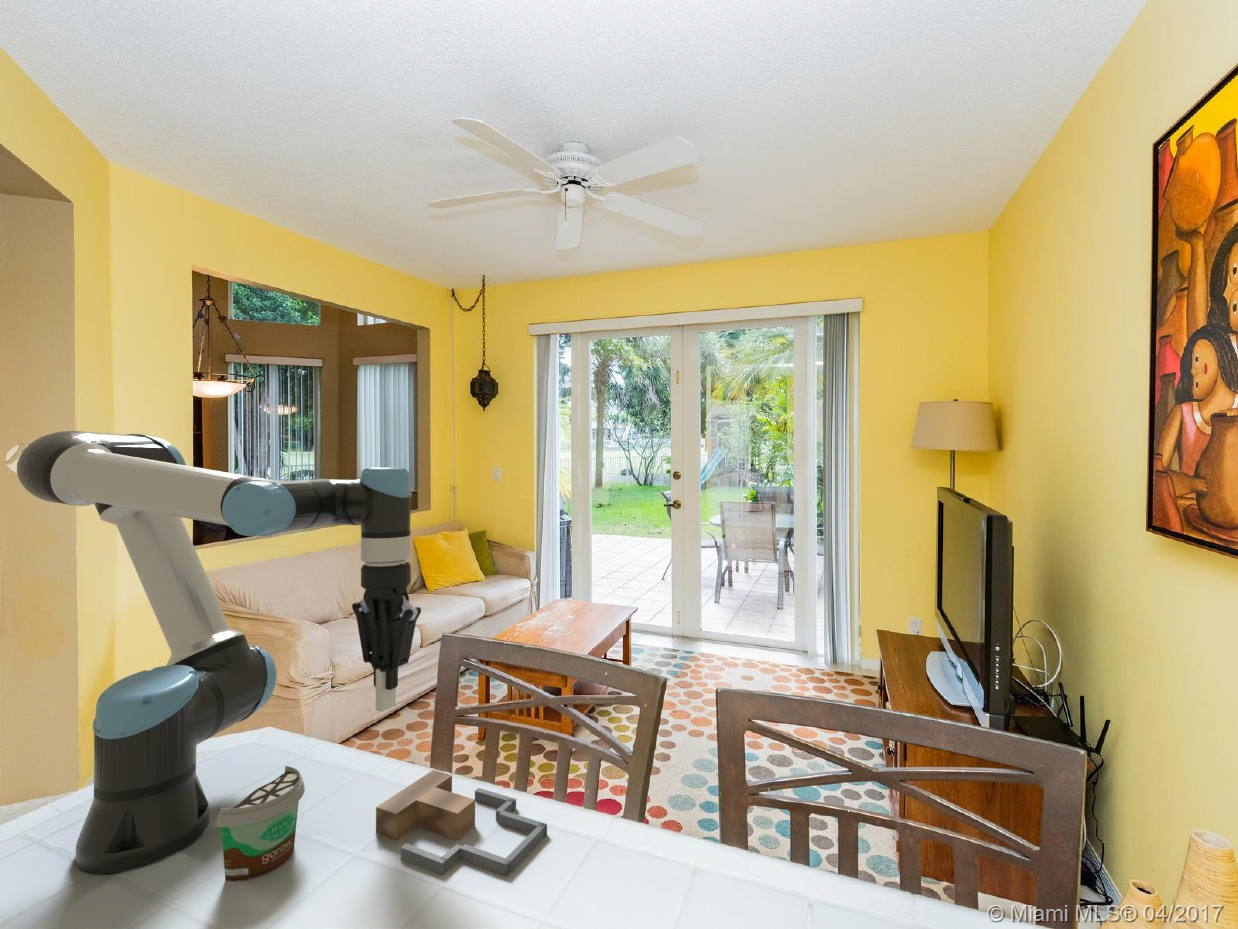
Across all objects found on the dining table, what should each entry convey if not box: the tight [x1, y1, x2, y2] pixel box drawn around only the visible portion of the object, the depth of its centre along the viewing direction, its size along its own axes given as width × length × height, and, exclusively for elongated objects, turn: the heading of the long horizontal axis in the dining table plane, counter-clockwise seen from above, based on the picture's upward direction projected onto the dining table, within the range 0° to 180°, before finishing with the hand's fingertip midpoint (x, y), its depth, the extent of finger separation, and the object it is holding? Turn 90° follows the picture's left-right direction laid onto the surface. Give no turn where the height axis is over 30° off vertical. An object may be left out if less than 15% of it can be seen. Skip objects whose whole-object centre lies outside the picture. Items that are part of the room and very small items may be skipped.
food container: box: [216, 765, 306, 882], centre depth 81 cm, size 12×6×10 cm, turn 168°
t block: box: [375, 769, 476, 842], centre depth 90 cm, size 12×12×4 cm
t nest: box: [400, 787, 548, 877], centre depth 86 cm, size 16×17×2 cm
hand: (385, 707), depth 95 cm, fingers closed
